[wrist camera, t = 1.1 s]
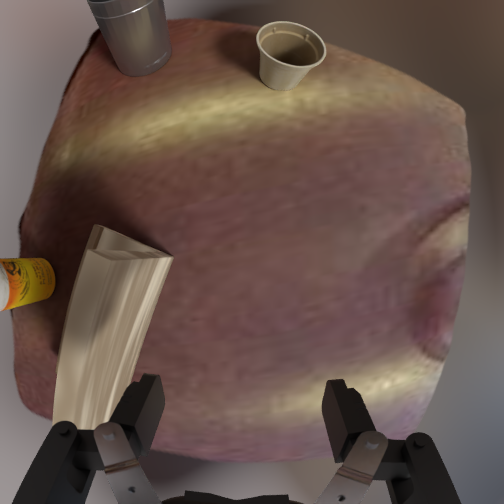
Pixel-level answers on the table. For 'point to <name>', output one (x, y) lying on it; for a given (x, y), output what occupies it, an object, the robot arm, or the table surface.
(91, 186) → the table surface
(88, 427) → the wall board
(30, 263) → the beer can
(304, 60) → the flower pot
